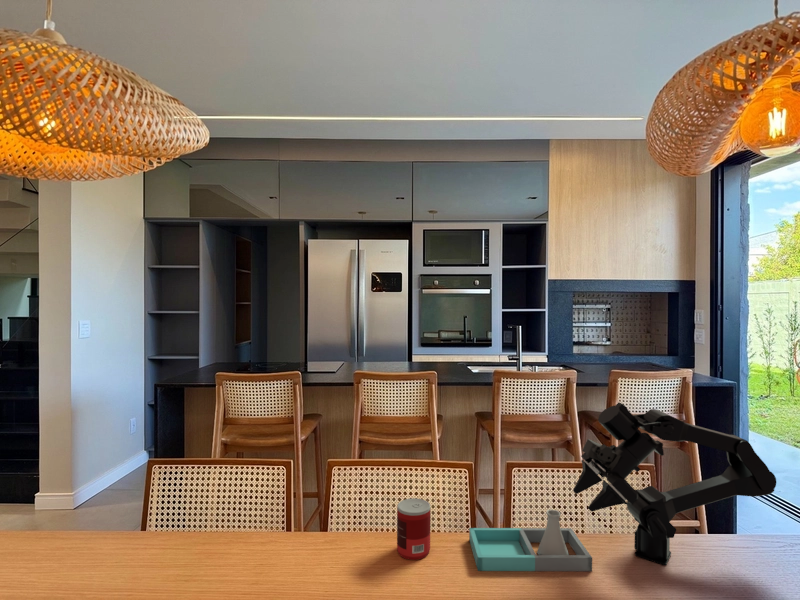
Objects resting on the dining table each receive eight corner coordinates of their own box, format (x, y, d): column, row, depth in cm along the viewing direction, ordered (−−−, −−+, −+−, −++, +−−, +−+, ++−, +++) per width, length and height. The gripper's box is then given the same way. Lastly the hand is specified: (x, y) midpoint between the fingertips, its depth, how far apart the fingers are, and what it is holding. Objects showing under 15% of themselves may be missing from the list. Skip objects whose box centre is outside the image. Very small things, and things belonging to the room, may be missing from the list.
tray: (571, 540, 118) (571, 528, 118) (592, 571, 105) (592, 557, 105) (469, 540, 118) (469, 527, 118) (477, 570, 105) (478, 557, 105)
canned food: (436, 548, 115) (436, 502, 114) (419, 564, 108) (419, 515, 108) (408, 539, 119) (408, 495, 118) (390, 554, 112) (390, 507, 112)
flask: (565, 547, 115) (565, 506, 115) (573, 564, 108) (573, 520, 108) (534, 545, 116) (534, 504, 116) (539, 562, 109) (540, 519, 109)
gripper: (589, 418, 121) (545, 461, 121) (624, 441, 102) (571, 493, 102) (620, 449, 121) (576, 493, 121) (661, 478, 102) (608, 530, 102)
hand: (581, 500), depth 112 cm, fingers open, 9 cm apart
